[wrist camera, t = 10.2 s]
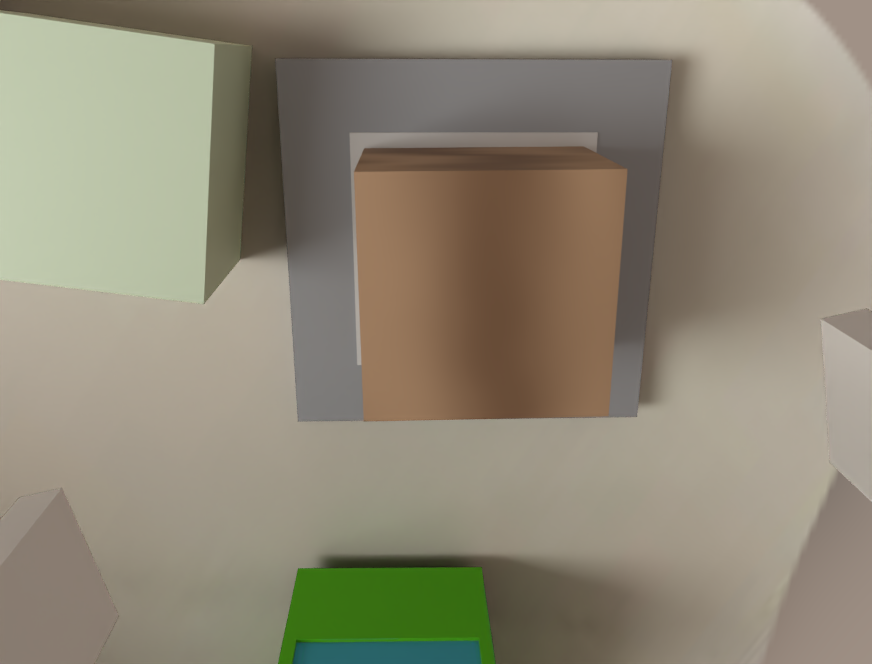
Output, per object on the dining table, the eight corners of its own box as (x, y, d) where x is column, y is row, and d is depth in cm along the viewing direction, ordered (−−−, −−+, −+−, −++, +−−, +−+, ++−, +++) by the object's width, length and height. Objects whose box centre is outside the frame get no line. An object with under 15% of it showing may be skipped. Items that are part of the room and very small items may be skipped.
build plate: (301, 408, 33) (297, 422, 32) (280, 58, 28) (274, 58, 27) (629, 404, 34) (637, 418, 32) (661, 59, 29) (673, 59, 28)
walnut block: (371, 354, 31) (363, 421, 25) (364, 148, 28) (353, 171, 23) (572, 350, 31) (608, 416, 26) (583, 146, 29) (627, 169, 23)
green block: (33, 232, 30) (-53, 273, 25) (25, 12, 28) (-72, 2, 22) (241, 258, 31) (203, 304, 25) (252, 46, 28) (214, 44, 23)
